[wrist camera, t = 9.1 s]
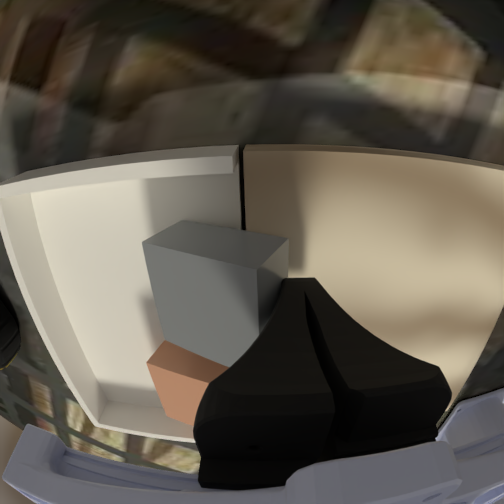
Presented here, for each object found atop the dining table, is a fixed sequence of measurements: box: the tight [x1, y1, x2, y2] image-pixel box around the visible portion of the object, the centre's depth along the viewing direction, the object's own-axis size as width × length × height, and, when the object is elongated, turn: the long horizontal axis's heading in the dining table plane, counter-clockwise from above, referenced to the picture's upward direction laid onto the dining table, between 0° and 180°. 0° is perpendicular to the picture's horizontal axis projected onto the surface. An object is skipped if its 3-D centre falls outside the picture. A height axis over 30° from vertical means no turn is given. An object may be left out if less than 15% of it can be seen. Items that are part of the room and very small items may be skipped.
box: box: [0, 145, 242, 443], centre depth 16 cm, size 18×12×3 cm, turn 2°
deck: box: [243, 144, 504, 411], centre depth 15 cm, size 18×15×2 cm
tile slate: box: [142, 220, 289, 367], centre depth 13 cm, size 5×5×2 cm
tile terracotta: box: [146, 340, 229, 426], centre depth 16 cm, size 5×5×2 cm
